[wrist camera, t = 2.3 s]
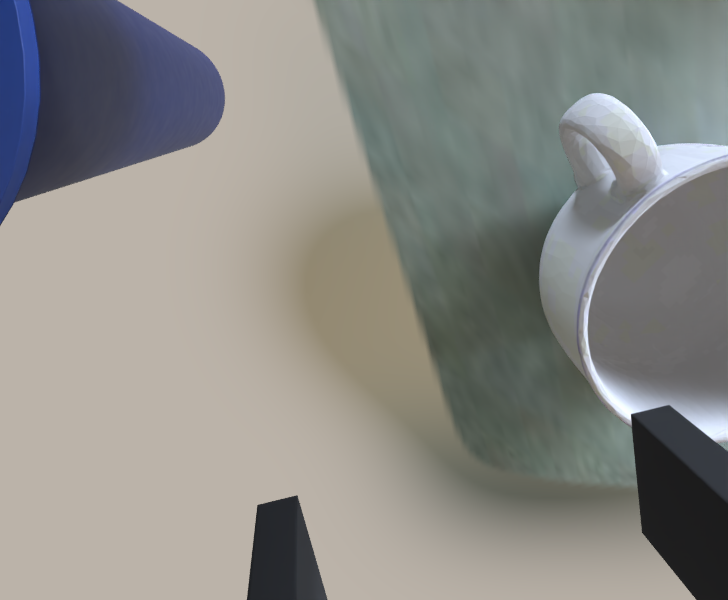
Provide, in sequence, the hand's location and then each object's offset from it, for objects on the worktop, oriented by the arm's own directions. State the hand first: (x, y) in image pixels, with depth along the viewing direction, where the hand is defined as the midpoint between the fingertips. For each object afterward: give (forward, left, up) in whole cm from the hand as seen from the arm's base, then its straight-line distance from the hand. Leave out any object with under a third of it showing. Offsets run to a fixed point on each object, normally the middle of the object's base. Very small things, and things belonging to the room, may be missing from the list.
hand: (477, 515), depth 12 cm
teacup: (+11, 0, -17) cm, 20 cm away
